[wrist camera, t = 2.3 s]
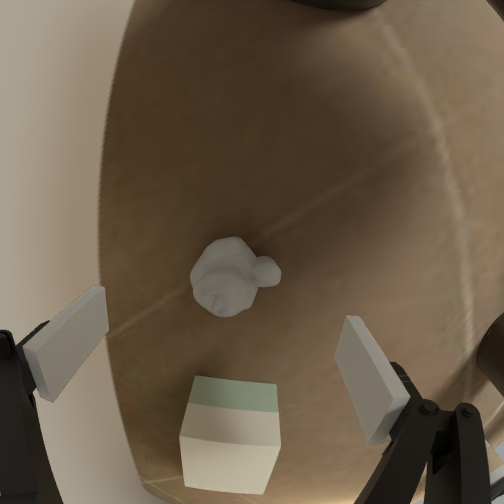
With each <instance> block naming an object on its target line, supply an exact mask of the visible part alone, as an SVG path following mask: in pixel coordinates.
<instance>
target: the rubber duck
mask: <svg viewBox="0 0 504 504" xmlns="http://www.w3.org/2000/svg"><path fill="white" fill-rule="evenodd" d="M280 280H281V270H280V268H279V267H278V266H277V264H276V262H275V261H274V260H273V259H272V258H270V257H267V256H261V257H256V256H255V255H254V253H253V251H252V250H251V249H250V248H249V247H248V246H247V245H246V243H245V242H244V241H243V240H242V239H241V238H239V237H228V238H221V239H218V240H216V241H214V242H212V243H211V244H210V245H209V246H207V247H206V249H205V250H204V252H203V254H202V255H201V256H200V258H199V259H198V260H197V262H196V263H195V265H194V267H193V269H192V271H191V273H190V281H191V285H192V287H193V295H194V298H195V300H196V301H197V302H198V303H199V304H200V305H201V306H202V307H204V308H205V309H207V310H208V311H209V312H211V314H212V313H213V314H214V315H216V316H219V317H221V318H225V317H231V316H234V315H236V314H238V313H240V312H241V311H242V310H246V309H249V308H250V307H251V305H252V303H253V301H254V298H255V295H256V294H257V291H258V287H271V286H275V285H277V284H278V283H279V282H280Z"/></svg>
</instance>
